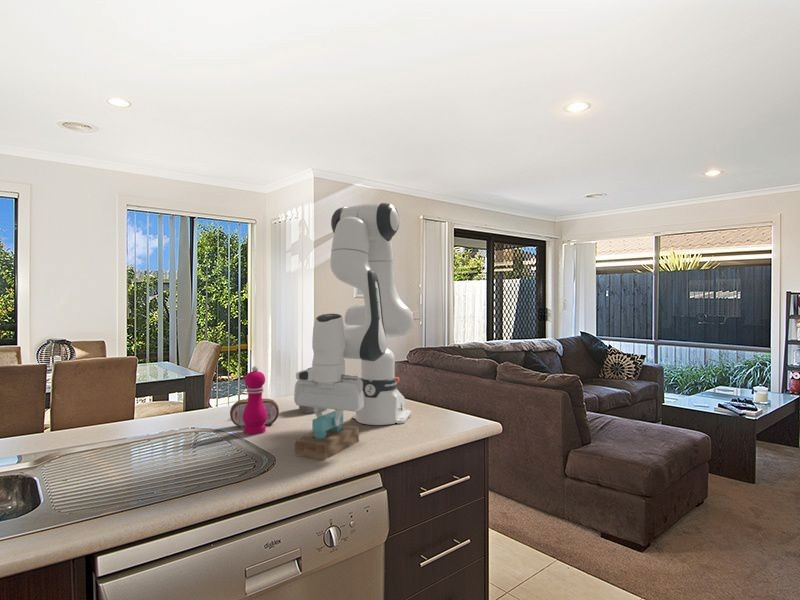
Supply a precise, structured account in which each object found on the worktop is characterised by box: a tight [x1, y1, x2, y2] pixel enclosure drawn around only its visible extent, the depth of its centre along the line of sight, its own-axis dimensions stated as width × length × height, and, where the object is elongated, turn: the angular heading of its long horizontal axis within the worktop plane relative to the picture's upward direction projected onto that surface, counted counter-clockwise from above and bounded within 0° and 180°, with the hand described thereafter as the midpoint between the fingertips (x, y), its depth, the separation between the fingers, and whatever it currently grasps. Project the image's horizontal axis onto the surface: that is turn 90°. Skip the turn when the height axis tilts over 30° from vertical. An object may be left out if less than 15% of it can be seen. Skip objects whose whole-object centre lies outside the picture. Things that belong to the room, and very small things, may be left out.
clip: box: [311, 410, 344, 440], centre depth 136 cm, size 11×3×8 cm, turn 157°
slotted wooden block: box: [294, 424, 360, 461], centre depth 136 cm, size 18×9×4 cm, turn 157°
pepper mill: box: [243, 365, 267, 435], centre depth 152 cm, size 7×7×20 cm
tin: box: [229, 398, 280, 428], centre depth 160 cm, size 15×3×8 cm, turn 108°
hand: (328, 424), depth 136 cm, fingers closed on clip, 3 cm apart
